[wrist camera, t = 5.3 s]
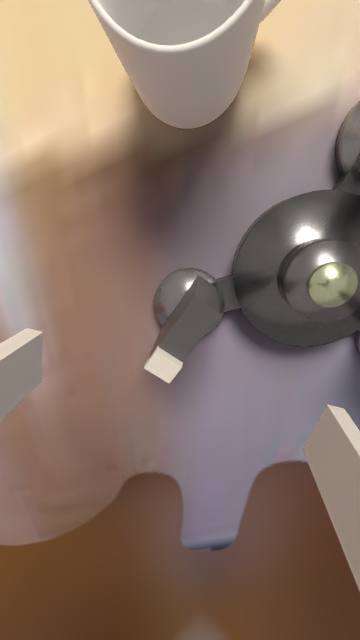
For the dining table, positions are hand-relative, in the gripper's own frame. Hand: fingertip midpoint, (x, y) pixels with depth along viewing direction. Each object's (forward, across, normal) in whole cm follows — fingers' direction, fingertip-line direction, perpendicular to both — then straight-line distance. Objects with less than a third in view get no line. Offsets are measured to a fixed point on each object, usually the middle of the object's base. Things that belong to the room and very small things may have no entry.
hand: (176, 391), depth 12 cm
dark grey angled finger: (+14, 0, 0) cm, 14 cm away
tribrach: (+15, +7, +4) cm, 17 cm away
